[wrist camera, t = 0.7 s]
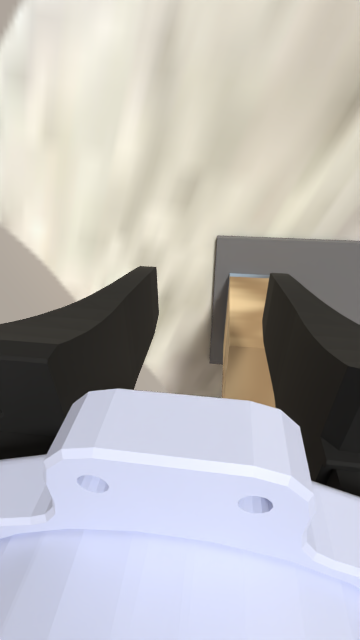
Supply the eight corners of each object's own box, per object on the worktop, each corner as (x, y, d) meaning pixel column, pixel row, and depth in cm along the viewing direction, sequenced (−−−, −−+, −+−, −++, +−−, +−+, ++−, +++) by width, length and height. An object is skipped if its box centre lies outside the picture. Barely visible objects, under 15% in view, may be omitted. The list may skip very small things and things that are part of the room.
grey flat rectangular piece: (463, 245, 20) (467, 247, 19) (395, 375, 26) (398, 378, 26) (217, 235, 21) (217, 237, 21) (209, 360, 27) (209, 363, 27)
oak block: (288, 276, 22) (314, 352, 15) (274, 344, 25) (290, 430, 19) (229, 273, 22) (229, 345, 16) (223, 340, 26) (221, 423, 19)
